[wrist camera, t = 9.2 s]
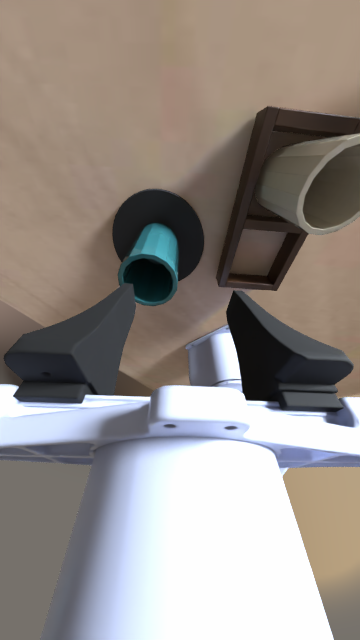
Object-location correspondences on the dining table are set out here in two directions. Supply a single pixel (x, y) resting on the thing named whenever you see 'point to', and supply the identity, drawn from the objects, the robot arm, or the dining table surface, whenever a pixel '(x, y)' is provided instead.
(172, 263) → the teal cup
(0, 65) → the dining table surface
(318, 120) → the holder
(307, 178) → the cream cup
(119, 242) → the coaster
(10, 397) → the robot arm
